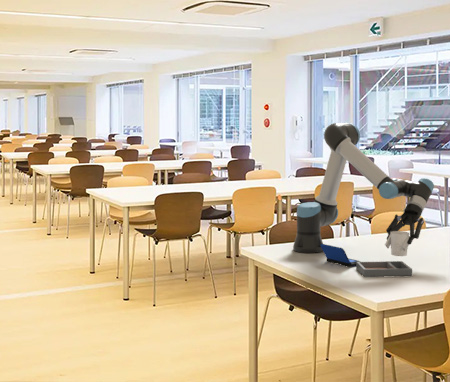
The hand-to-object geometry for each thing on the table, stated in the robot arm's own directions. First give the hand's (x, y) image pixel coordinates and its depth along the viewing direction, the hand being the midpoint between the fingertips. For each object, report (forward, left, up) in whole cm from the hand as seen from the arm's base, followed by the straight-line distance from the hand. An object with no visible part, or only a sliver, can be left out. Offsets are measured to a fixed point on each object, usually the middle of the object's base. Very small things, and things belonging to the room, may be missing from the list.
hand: (395, 247), depth 292 cm
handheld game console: (-22, +8, -9) cm, 25 cm away
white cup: (+2, +2, -4) cm, 5 cm away
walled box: (-8, -11, -9) cm, 16 cm away
